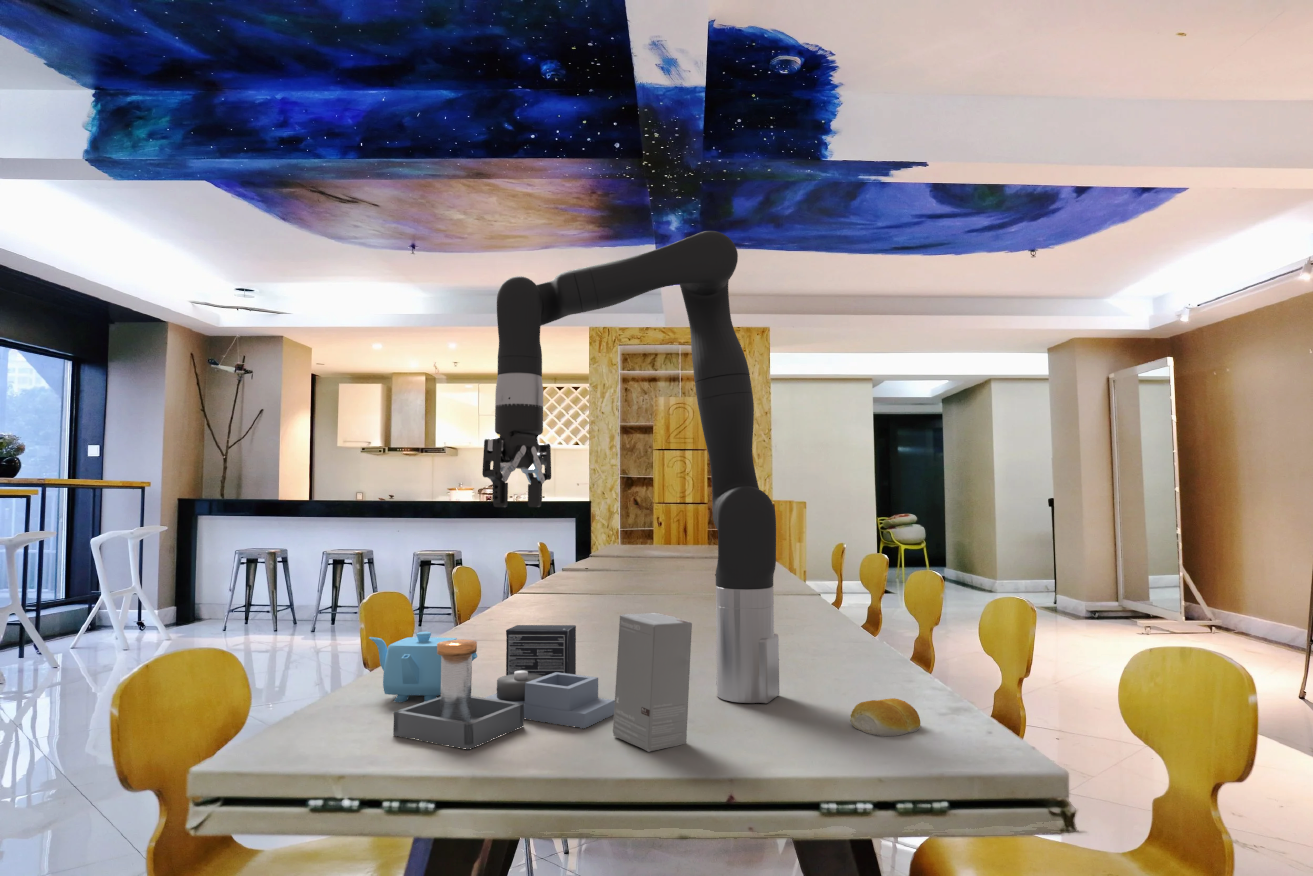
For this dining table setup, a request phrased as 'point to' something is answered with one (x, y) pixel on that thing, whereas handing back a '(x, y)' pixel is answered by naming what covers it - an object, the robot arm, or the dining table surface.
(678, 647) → the skincare box
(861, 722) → the bread roll
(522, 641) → the small box
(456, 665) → the copper capped glass jar
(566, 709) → the block
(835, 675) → the dining table surface
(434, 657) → the teapot
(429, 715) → the tray
